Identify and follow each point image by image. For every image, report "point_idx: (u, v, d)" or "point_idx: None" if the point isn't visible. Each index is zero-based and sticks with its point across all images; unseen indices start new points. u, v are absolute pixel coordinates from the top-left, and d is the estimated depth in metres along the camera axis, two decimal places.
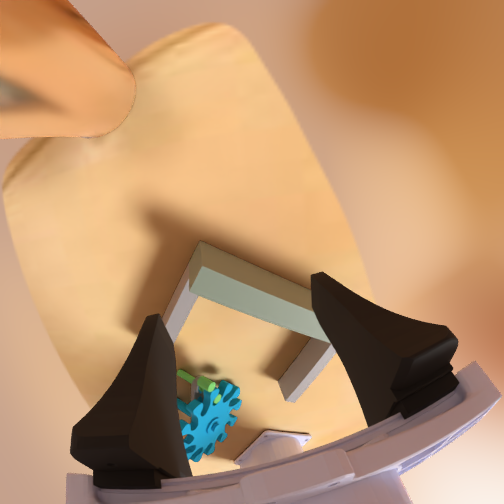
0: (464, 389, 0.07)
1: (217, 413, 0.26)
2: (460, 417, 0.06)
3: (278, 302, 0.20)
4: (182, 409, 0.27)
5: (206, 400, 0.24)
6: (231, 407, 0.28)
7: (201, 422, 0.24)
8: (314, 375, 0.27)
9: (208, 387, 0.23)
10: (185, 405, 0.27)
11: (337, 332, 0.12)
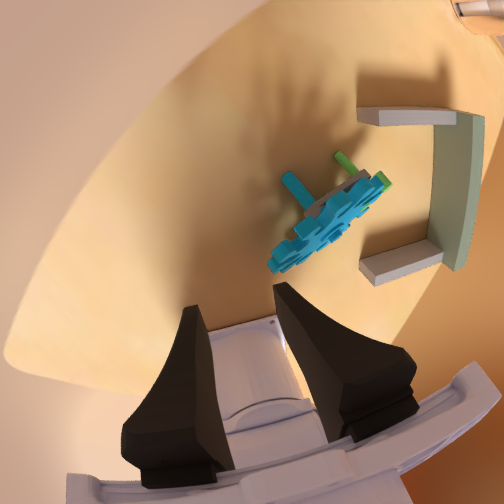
0: (464, 389, 0.07)
1: (344, 223, 0.21)
2: (460, 417, 0.06)
3: (479, 180, 0.20)
4: (301, 188, 0.21)
5: None
6: None
7: (355, 209, 0.19)
8: (408, 271, 0.26)
9: (391, 184, 0.20)
10: (305, 188, 0.21)
11: (297, 345, 0.11)
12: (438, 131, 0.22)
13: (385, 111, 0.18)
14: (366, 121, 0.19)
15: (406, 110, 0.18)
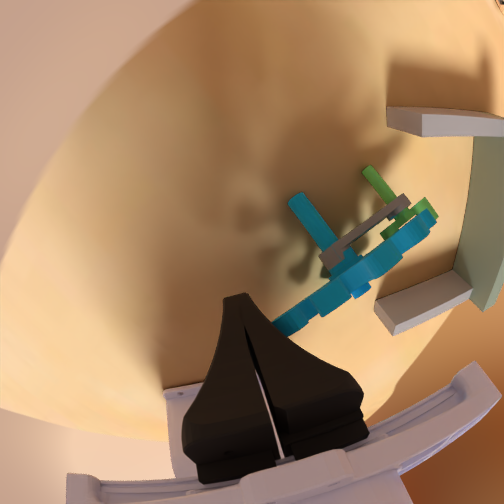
0: (464, 389, 0.07)
1: None
2: (460, 417, 0.06)
3: None
4: (317, 218, 0.14)
5: None
6: None
7: None
8: (432, 315, 0.20)
9: None
10: (321, 217, 0.15)
11: (253, 358, 0.11)
12: (479, 143, 0.15)
13: (430, 116, 0.11)
14: (401, 127, 0.13)
15: (454, 116, 0.12)
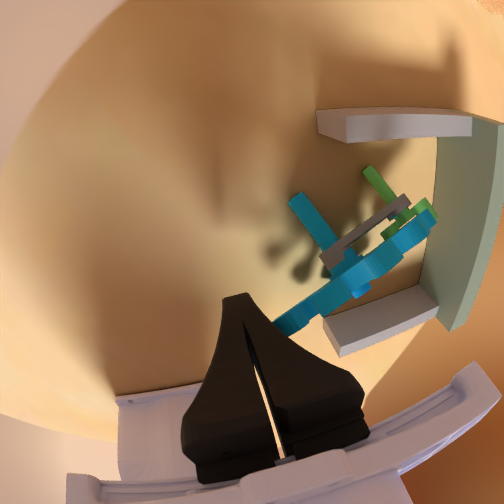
0: (464, 389, 0.07)
1: None
2: (460, 417, 0.06)
3: (498, 218, 0.13)
4: (317, 218, 0.14)
5: None
6: None
7: None
8: (388, 335, 0.19)
9: None
10: (322, 217, 0.15)
11: (254, 358, 0.11)
12: (443, 144, 0.15)
13: (358, 117, 0.11)
14: (328, 133, 0.13)
15: (395, 114, 0.11)
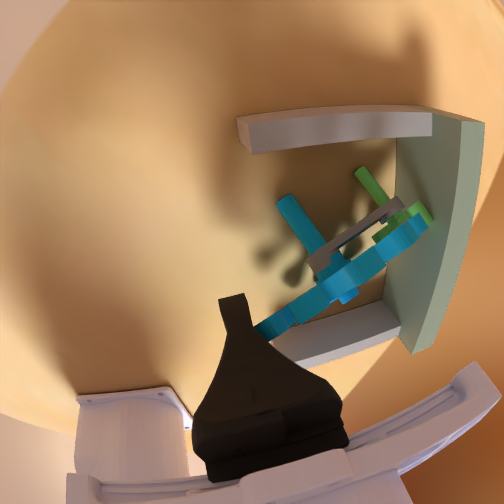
0: (464, 389, 0.07)
1: None
2: (460, 417, 0.06)
3: (466, 232, 0.13)
4: (305, 221, 0.14)
5: None
6: None
7: None
8: (338, 355, 0.19)
9: (432, 221, 0.13)
10: None
11: None
12: (403, 146, 0.14)
13: (264, 124, 0.10)
14: (243, 142, 0.12)
15: (317, 116, 0.10)
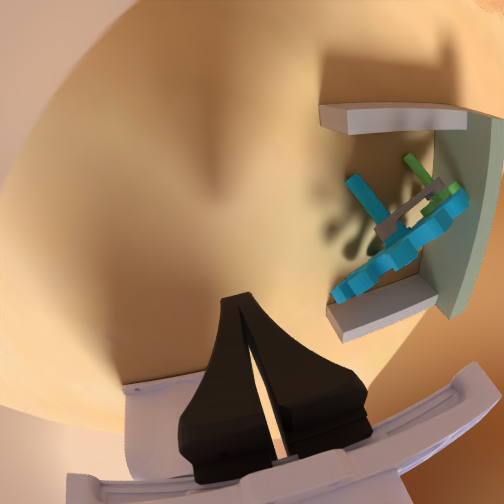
0: (464, 389, 0.07)
1: None
2: (460, 417, 0.06)
3: (493, 208, 0.14)
4: (372, 195, 0.16)
5: None
6: None
7: None
8: (389, 322, 0.20)
9: None
10: None
11: (256, 357, 0.11)
12: (440, 138, 0.16)
13: (358, 111, 0.12)
14: (331, 126, 0.13)
15: (393, 109, 0.12)
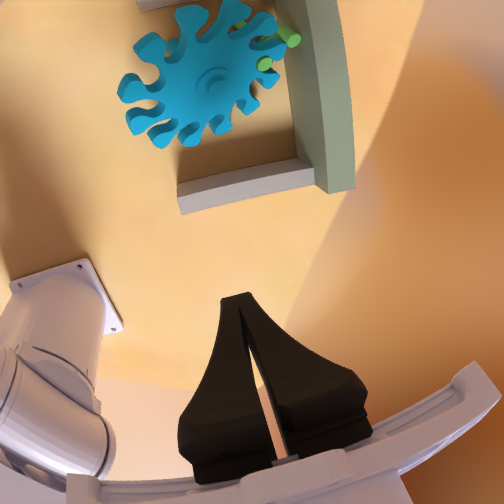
0: (464, 389, 0.07)
1: (234, 79, 0.15)
2: (460, 417, 0.06)
3: (338, 40, 0.13)
4: None
5: (263, 46, 0.14)
6: (228, 111, 0.17)
7: (236, 46, 0.12)
8: (242, 194, 0.19)
9: (297, 34, 0.13)
10: None
11: (256, 357, 0.11)
12: (277, 4, 0.14)
13: None
14: (138, 5, 0.12)
15: None
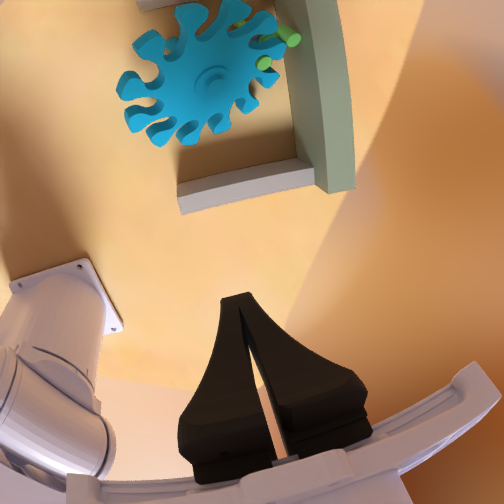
0: (464, 389, 0.07)
1: (234, 78, 0.14)
2: (460, 417, 0.06)
3: (338, 40, 0.13)
4: None
5: (262, 45, 0.14)
6: (227, 110, 0.17)
7: (235, 45, 0.12)
8: (242, 194, 0.19)
9: (297, 33, 0.13)
10: None
11: (256, 357, 0.11)
12: (277, 4, 0.14)
13: None
14: (138, 5, 0.12)
15: None
